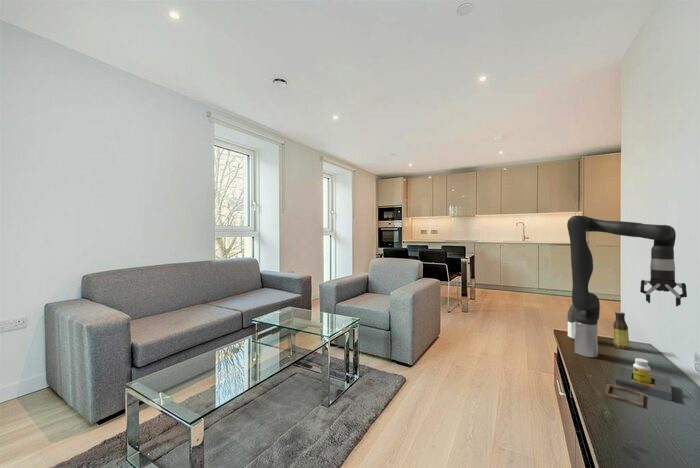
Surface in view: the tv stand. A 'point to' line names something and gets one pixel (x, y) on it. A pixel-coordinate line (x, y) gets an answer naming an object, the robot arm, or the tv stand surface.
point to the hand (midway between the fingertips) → (662, 304)
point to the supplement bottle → (642, 371)
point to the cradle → (625, 391)
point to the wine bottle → (572, 322)
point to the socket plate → (645, 384)
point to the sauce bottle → (620, 331)
